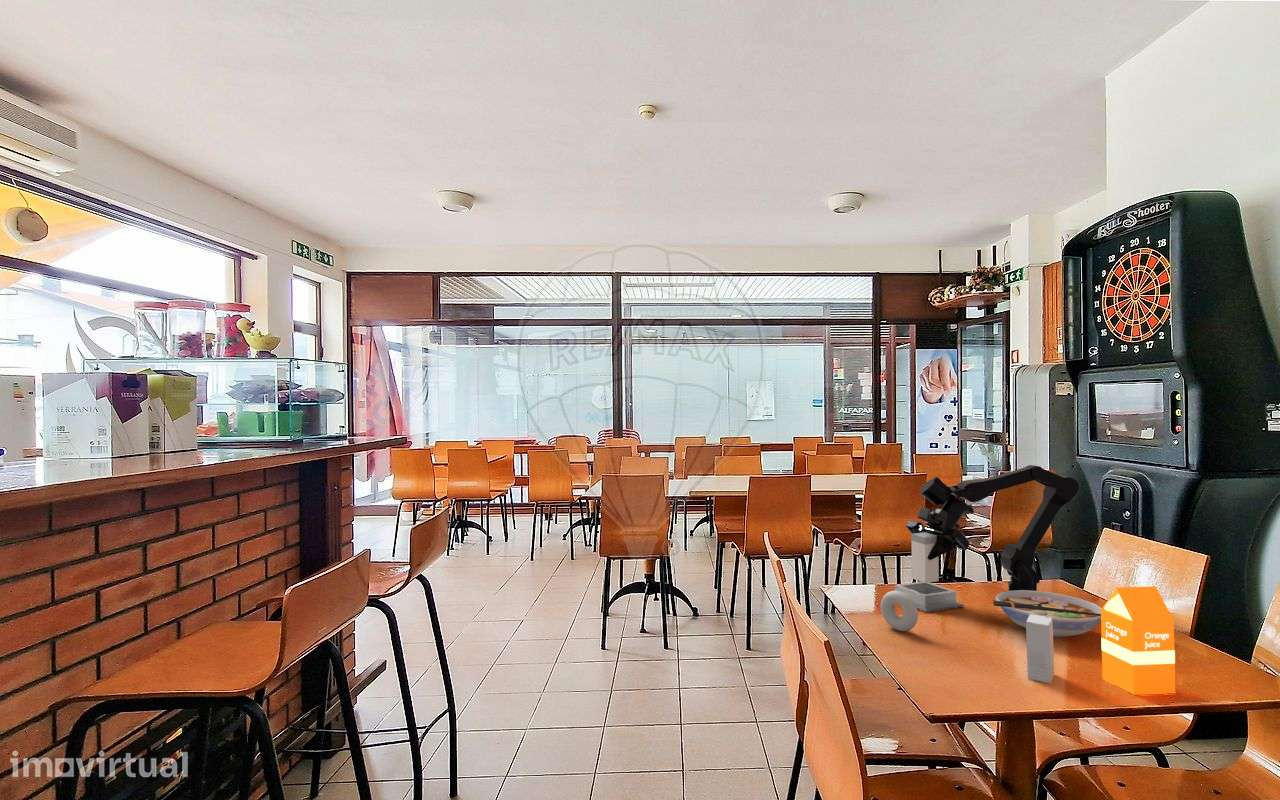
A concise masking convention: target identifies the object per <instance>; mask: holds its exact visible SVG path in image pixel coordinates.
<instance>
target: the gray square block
mask: <svg viewBox="0 0 1280 800" xmlns="http://www.w3.org/2000/svg"><path fill="white" fill-rule="evenodd" d="M910 536H911V538H910V539H911V578H912V579H914V581H915V580H916V581H917V582H924V583H933V582H934V583H935V582H939V579H940V576H939V575H940V574H939V572H940V571H939V570H940V569H939V566H940V565H939V557H940V556H938V557H936V558H934V559H932V560H929V559H928V555H929V553H930V551H931V550H932V548H933V547H934V545H935V543H936V541H937V535H933V534H929V533H926V532H923V533H914V534H912V533H911V535H910Z"/></svg>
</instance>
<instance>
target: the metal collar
mask: <svg viewBox="0 0 1280 800" xmlns="http://www.w3.org/2000/svg"><path fill="white" fill-rule="evenodd" d="M894 591H901V592H903V593H905V594H907V595H908V596H909V597H910V598H911V599H912V600H913V602H914V603H915V605H917V606H920V607H922V608H925V609H927V608H933V607H940V606H946V605H952V604H957V603H956V602H957V591H955V590H953V589H949V588H948V587H947V588H946V587H944V586H941V585H938V584H935V583H933V582H929V583H924V582H921V581H915V582H908V583H902V584H895V585H894Z"/></svg>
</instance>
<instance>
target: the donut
mask: <svg viewBox="0 0 1280 800" xmlns="http://www.w3.org/2000/svg"><path fill="white" fill-rule="evenodd" d="M896 605H898V606H899V607H900V608H901V610H902V612H903V615H902V616H899V615H898V614H897V612H896V608H895V607H896ZM880 612H881V614H882V617H883V619H884V621H885V622H886V624H888V625H889V626H890V627H891V629H894V630H896V631H898V632H908V631H911V630H912V629H914V628H915V626H916V624H917V622H918V620H919V613H918V612H919V611H918V610H917V608H916V606H915V603H914V602H913V600H912V599H911V598H910V597H909V596H908V595H907V594H905V593H903V592H901V591H895V590H891V591H887V592H886V594H884V595H883V597H882V599H881V600H880Z"/></svg>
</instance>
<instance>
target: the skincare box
mask: <svg viewBox="0 0 1280 800" xmlns="http://www.w3.org/2000/svg"><path fill="white" fill-rule="evenodd" d="M1025 629H1026V631H1025V634H1026V636H1025V637H1026V662H1027V663H1026V664H1027V665H1026V666H1027V667H1026V669H1027V679H1028V680H1033V681H1035V682H1036V681H1037V682H1041V683H1046V684H1049V685H1051V684H1052V681H1053V677H1054V675H1055V661H1054V660H1055V659H1054V657H1055V656H1054V638H1053V619H1052V618H1050V617H1045V616H1039V615H1033V614H1030V615H1029V617H1028V619H1027V621H1026V628H1025Z"/></svg>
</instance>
